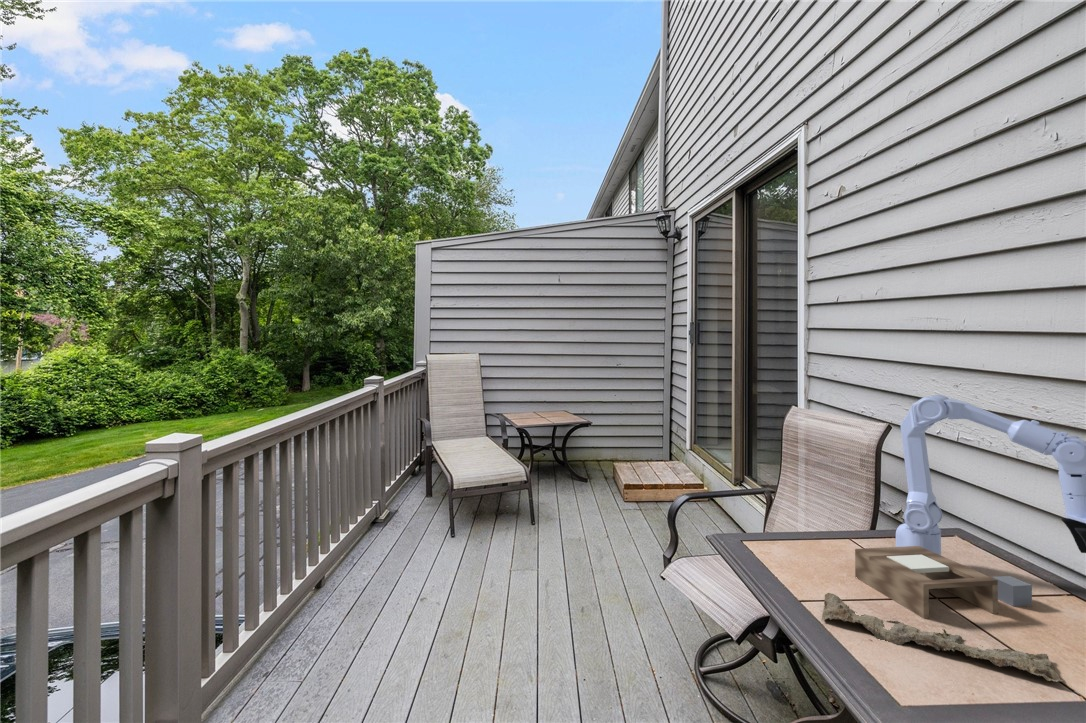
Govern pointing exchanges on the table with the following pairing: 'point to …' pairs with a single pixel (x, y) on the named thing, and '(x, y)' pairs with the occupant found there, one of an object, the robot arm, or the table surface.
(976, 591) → the box
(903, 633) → the tree branch
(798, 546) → the table surface
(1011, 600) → the granite block
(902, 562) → the trapdoor
